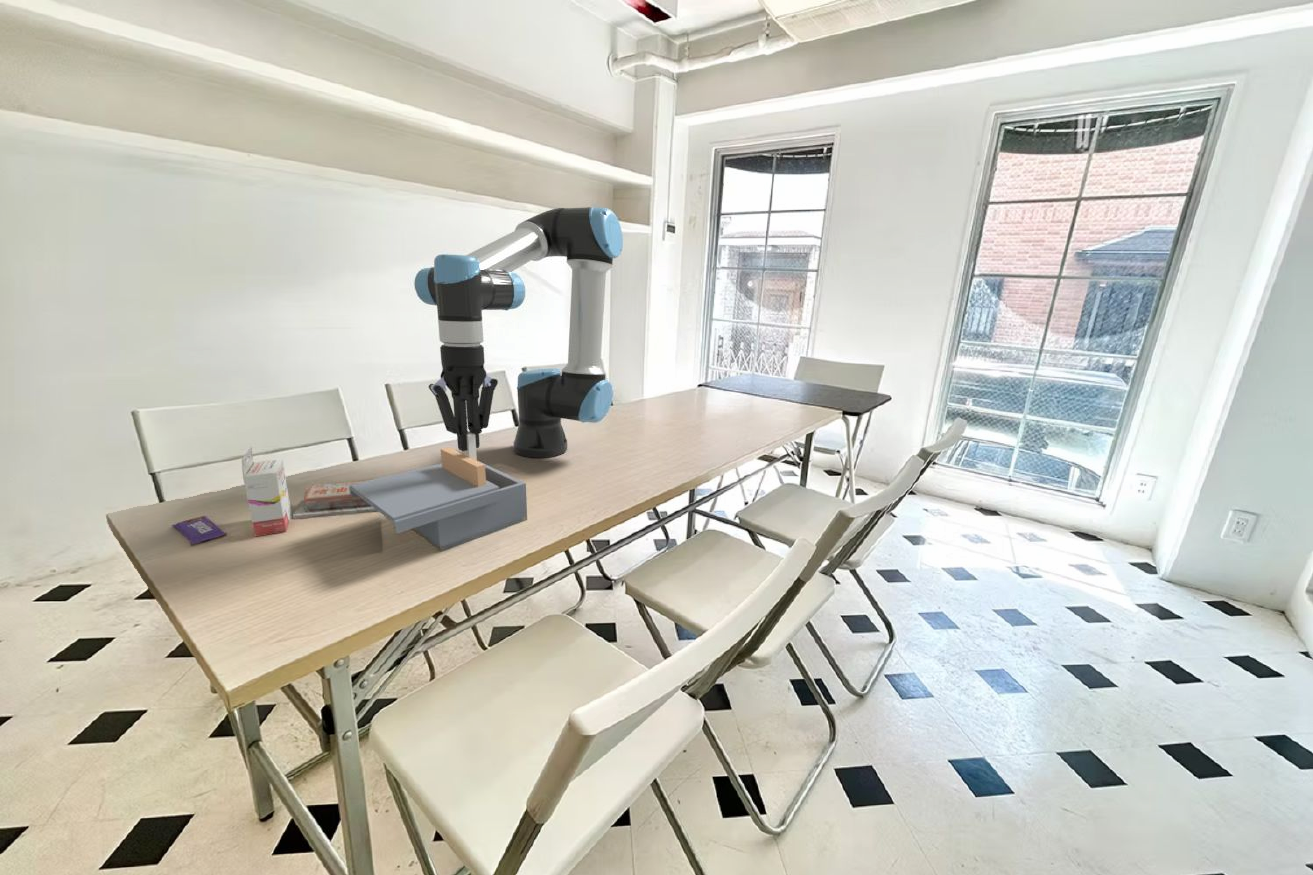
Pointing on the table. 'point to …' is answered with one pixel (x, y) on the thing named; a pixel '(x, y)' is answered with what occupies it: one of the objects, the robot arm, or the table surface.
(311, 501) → the packaged product
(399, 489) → the lid
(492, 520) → the open gray box
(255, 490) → the ink cartridge box
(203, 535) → the snack package
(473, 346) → the robot arm
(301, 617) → the table surface
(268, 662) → the table surface
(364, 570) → the table surface
